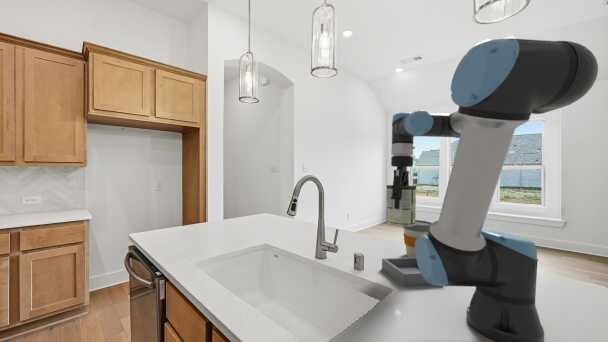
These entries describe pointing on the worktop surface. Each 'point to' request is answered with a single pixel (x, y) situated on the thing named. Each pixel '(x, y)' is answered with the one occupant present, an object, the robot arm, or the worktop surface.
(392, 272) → the housing tray
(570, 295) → the worktop surface
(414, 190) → the coffee can
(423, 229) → the reusable coffee cup
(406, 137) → the robot arm
